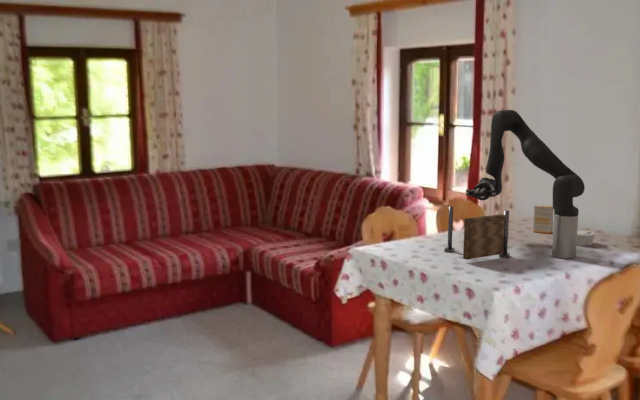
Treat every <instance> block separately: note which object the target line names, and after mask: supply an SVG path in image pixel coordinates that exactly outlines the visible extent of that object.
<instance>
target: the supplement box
mask: <svg viewBox="0 0 640 400" xmlns="http://www.w3.org/2000/svg"><path fill="white" fill-rule="evenodd" d="M553 225H554V208H553V204H552V205H549V204H538V203H537V204H535V205H534V206H533V228H532V229H533V233H538V234H539V233H542V234H550V235H551V234H553Z"/></svg>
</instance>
